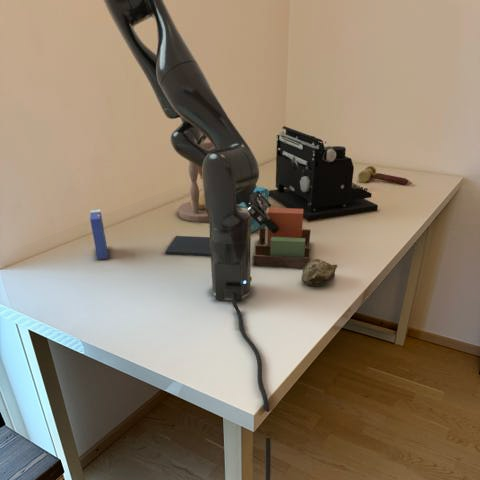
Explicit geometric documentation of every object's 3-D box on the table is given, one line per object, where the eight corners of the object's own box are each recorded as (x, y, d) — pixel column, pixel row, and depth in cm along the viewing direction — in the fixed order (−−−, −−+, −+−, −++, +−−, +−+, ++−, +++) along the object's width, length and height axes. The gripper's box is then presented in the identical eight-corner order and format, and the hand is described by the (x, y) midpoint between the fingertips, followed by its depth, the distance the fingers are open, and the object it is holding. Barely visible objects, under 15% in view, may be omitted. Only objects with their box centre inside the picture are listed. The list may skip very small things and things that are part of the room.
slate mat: (235, 257, 130) (235, 254, 129) (165, 254, 132) (165, 251, 132) (240, 241, 140) (240, 238, 139) (176, 238, 142) (175, 235, 142)
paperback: (303, 266, 124) (305, 241, 121) (270, 264, 125) (270, 240, 122) (303, 262, 126) (305, 238, 123) (270, 260, 127) (271, 236, 124)
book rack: (308, 268, 123) (309, 253, 121) (253, 266, 125) (253, 250, 122) (309, 244, 137) (310, 229, 135) (259, 241, 139) (259, 227, 137)
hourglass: (198, 202, 171) (194, 130, 158) (238, 210, 163) (238, 135, 150) (168, 216, 158) (160, 139, 145) (210, 225, 151) (207, 145, 137)
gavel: (416, 174, 189) (410, 180, 181) (413, 185, 191) (407, 192, 184) (366, 164, 197) (359, 170, 190) (364, 175, 200) (357, 181, 192)
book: (300, 255, 131) (303, 213, 124) (264, 253, 132) (265, 212, 125) (300, 249, 134) (303, 208, 128) (266, 247, 135) (267, 207, 129)
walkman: (107, 258, 130) (100, 217, 123) (97, 259, 129) (89, 218, 123) (107, 248, 136) (100, 208, 130) (97, 249, 135) (90, 208, 129)
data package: (246, 235, 143) (245, 196, 137) (234, 232, 146) (234, 194, 139) (268, 224, 151) (269, 187, 145) (257, 221, 154) (257, 185, 147)
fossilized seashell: (315, 285, 110) (346, 281, 115) (311, 257, 110) (342, 254, 115) (296, 289, 116) (326, 285, 121) (291, 263, 116) (322, 260, 121)
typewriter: (377, 210, 161) (388, 134, 148) (308, 221, 153) (313, 141, 140) (330, 187, 186) (336, 120, 173) (268, 195, 178) (270, 125, 164)
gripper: (229, 184, 132) (270, 226, 137) (220, 200, 120) (265, 245, 125) (248, 166, 129) (289, 209, 134) (241, 180, 117) (286, 227, 121)
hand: (277, 226), depth 129 cm, fingers open, 6 cm apart
